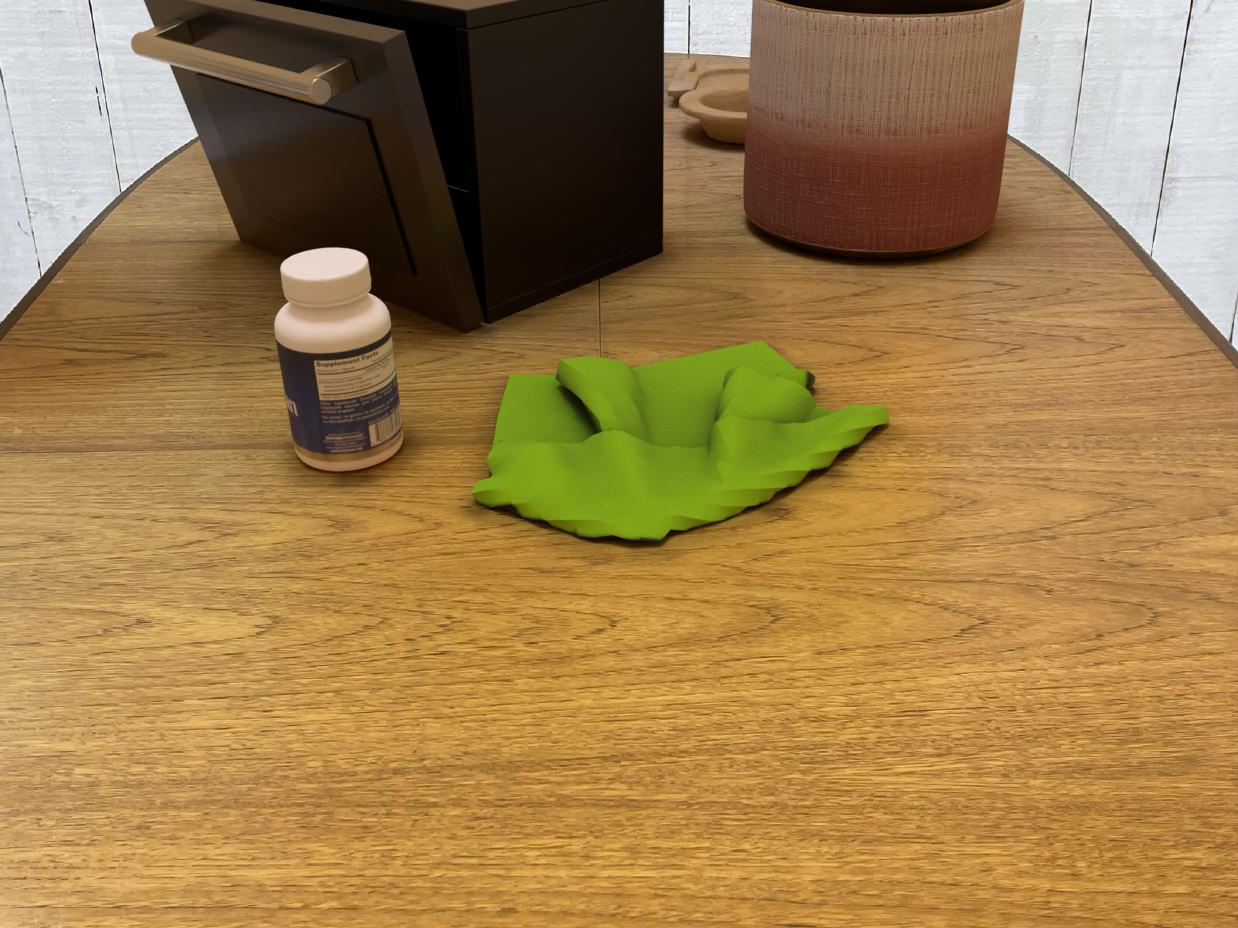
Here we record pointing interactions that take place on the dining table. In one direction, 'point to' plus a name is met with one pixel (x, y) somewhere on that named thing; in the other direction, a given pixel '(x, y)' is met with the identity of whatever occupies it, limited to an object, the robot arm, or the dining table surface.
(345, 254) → the pill bottle
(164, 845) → the dining table surface
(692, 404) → the cloth
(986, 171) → the planter
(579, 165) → the oven
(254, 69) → the oven door
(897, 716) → the dining table surface
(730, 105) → the tableware set
